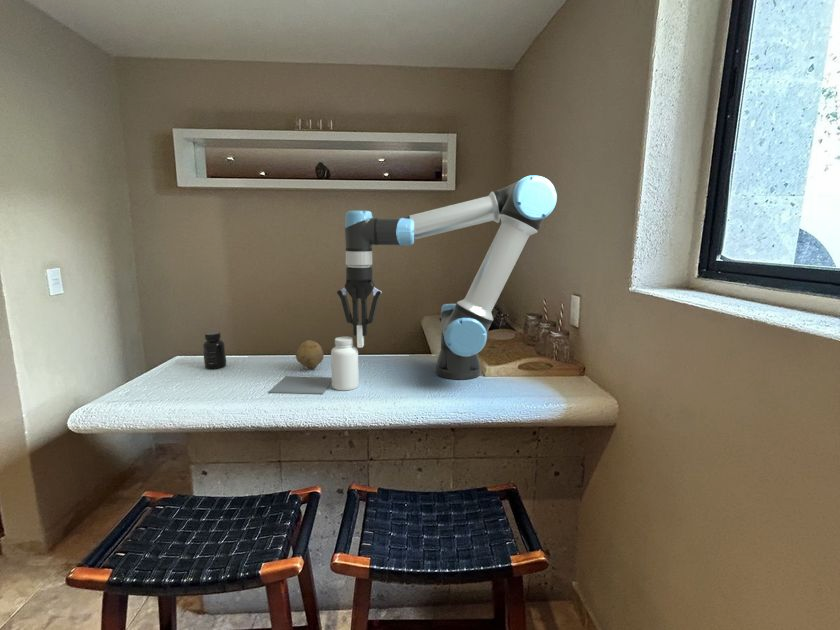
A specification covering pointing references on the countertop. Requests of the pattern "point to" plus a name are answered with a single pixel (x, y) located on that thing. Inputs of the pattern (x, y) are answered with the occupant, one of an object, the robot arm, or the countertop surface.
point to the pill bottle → (344, 364)
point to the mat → (302, 385)
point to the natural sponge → (309, 354)
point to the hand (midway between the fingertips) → (360, 346)
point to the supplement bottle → (214, 351)
